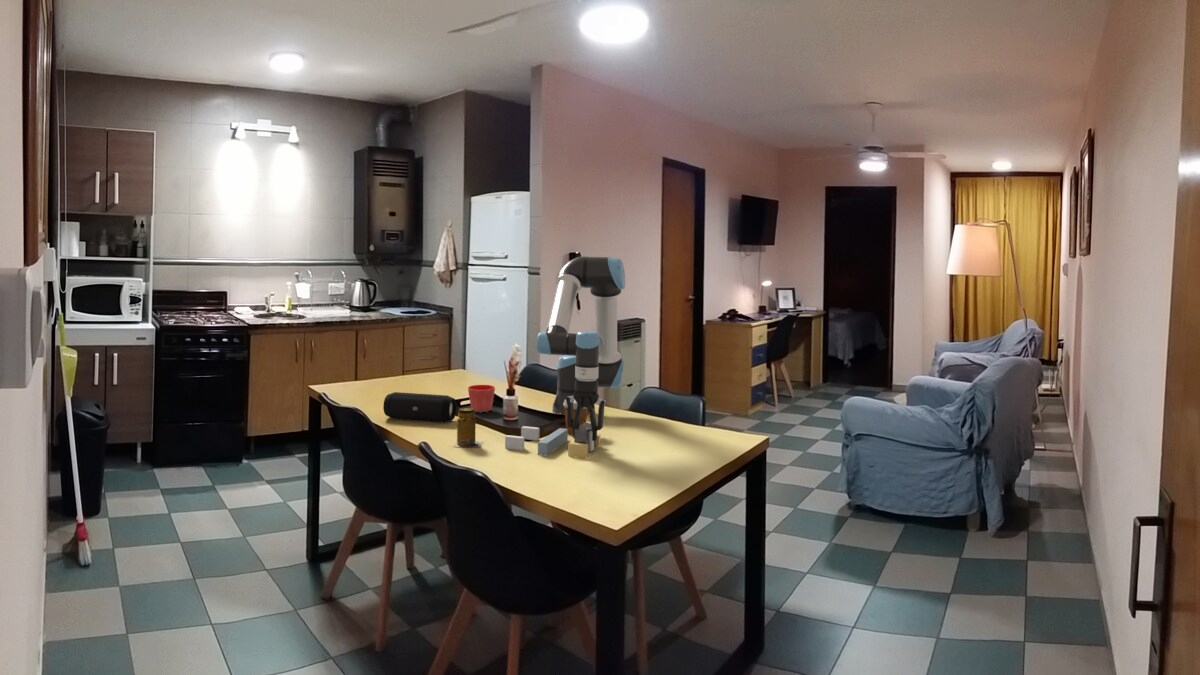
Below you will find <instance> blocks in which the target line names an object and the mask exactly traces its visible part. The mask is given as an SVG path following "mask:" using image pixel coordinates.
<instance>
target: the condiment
mask: <svg viewBox="0 0 1200 675" xmlns="http://www.w3.org/2000/svg"><path fill="white" fill-rule="evenodd" d="M457 413H458V415H457V417H456V421H457V422H456V423H457V424H456V444H454V446H453V447H454V448H455V447H456V448H480V447H482V444H483V443H484V441H476V434H477V433H476V416H475V414H476V413H475V412H474V409H472V408H471V407H462V408H459V409H458V412H457Z"/></svg>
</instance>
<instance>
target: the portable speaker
mask: <svg viewBox="0 0 1200 675" xmlns="http://www.w3.org/2000/svg"><path fill="white" fill-rule="evenodd" d="M457 407H458V404H457V400H456V399H455V397H452V396H450V395H445V394H443V395H442V394H428V393H413V392H400V391H399V392H398V391H395V392H392V393H388V394H387V395H386V396H385V398H384V400H383V413H384V415H385V416H386V417H388V418H390V419H392V420H403V421H418V422H432V423H434V422H435V423H448V422H451V421H453V420H454V419H455V417H456V414H457V409H458V408H457Z"/></svg>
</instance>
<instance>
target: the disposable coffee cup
mask: <svg viewBox="0 0 1200 675" xmlns="http://www.w3.org/2000/svg"><path fill="white" fill-rule="evenodd" d="M563 405H564V408H565V415H564V416H565V425H566V426H565V429H568V436H573V428H571V427H568V405H567V402H566V399H565V400H564V403H563ZM577 405H578V404H577V402H576V401H575V399H574V402H573V414H574V420H575V416H576V411H577ZM587 413H588V408H586V407H583V410H582V414H581V419H580V423H579V426H580V425H582V424H583V423H587V420H588V414H589V413H588V414H587Z"/></svg>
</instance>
